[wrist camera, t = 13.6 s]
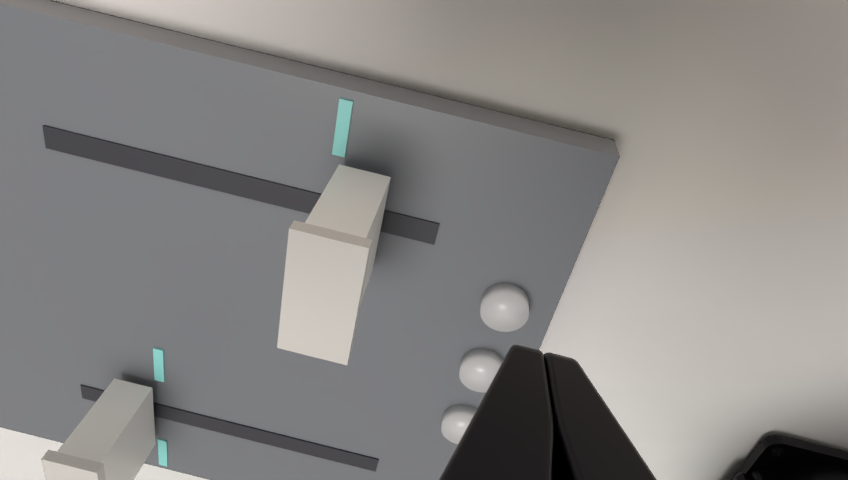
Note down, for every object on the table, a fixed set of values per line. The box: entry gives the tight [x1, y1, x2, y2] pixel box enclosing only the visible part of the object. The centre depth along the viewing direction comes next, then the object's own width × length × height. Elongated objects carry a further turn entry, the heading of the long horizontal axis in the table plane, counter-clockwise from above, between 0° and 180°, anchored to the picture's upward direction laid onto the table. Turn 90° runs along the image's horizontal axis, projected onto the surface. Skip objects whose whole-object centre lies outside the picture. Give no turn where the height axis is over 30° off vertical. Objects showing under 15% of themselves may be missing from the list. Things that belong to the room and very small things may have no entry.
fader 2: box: [277, 164, 391, 365], centre depth 18 cm, size 2×4×4 cm, turn 168°
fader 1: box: [41, 378, 155, 480], centre depth 24 cm, size 2×4×4 cm, turn 168°
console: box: [0, 0, 619, 480], centre depth 23 cm, size 22×20×2 cm
